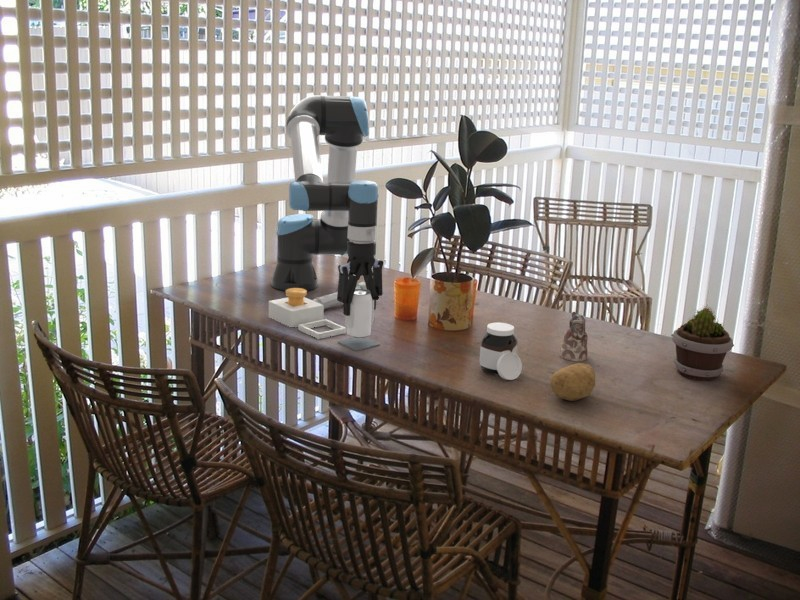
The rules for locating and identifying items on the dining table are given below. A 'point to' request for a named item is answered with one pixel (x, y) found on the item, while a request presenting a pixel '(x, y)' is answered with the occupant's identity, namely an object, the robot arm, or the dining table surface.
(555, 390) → the potato
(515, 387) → the dining table surface
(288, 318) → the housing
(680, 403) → the dining table surface
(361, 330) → the can
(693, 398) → the dining table surface
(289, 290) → the plunger
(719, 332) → the flowerpot
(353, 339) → the mat
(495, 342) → the spread jar
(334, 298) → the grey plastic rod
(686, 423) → the dining table surface
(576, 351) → the figurine
